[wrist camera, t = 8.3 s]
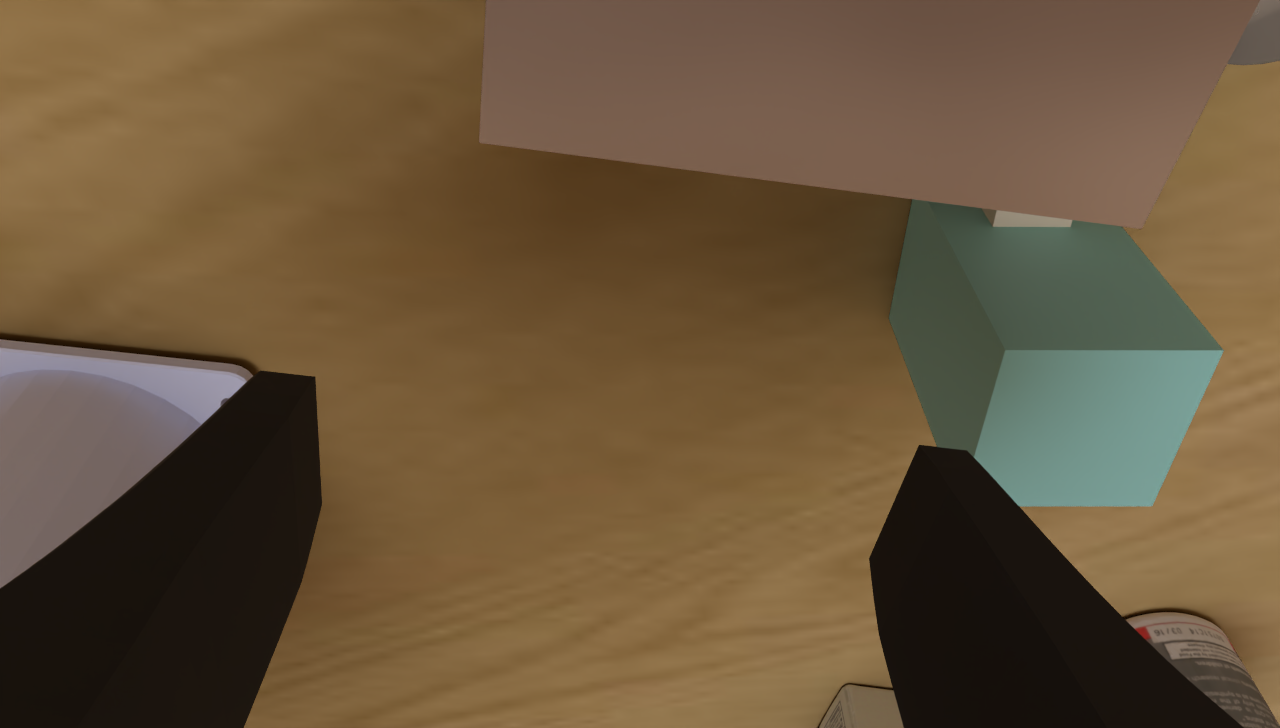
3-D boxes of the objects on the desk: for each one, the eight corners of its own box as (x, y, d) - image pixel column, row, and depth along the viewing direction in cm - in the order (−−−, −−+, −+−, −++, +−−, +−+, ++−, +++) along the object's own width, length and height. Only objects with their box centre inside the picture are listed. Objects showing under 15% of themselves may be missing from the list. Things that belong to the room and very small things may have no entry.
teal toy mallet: (1040, 318, 22) (1152, 506, 18) (888, 318, 22) (960, 506, 18) (1336, -635, 13) (1746, -787, 8) (1078, -639, 13) (1338, -794, 8)
